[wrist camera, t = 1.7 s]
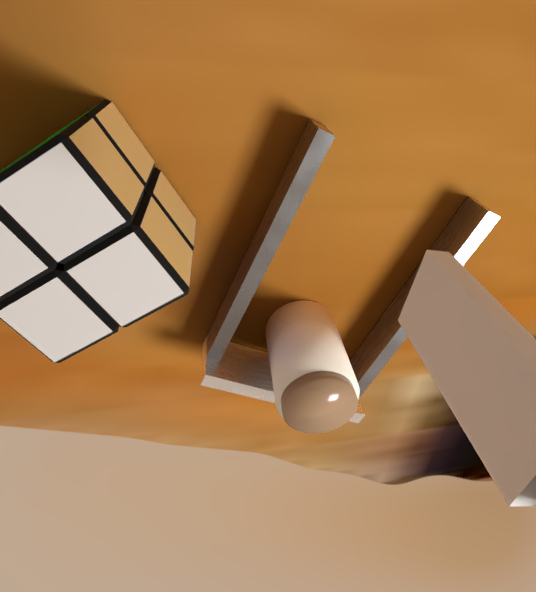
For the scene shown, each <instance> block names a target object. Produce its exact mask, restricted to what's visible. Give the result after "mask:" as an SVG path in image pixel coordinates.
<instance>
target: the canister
mask: <svg viewBox="0 0 536 592" xmlns="http://www.w3.org/2000/svg"><path fill="white" fill-rule="evenodd" d="M265 334H266V341H267V348H268V355H269V361H270V368H271V375H272V382H273V389H274V396H275V403H276V408H277V410H278V412H279V414H280V415H281V416H282V417H283V418H284V420H285V422H286V423H287V424H288V425H289V426H290V427H291V428H293V429H295V430H297V431H300V432H304V433H323V432H328V431H331V430H334V429H336V428H339V427H340V426H342V425H344V424H345V423H347V422H348V421H349V420H350V419H351V418H352V417H353V415H354V414H355V412H356V410H357V407H358V398H359V394H360V389H359V385H358V382H357V379H356V377H355V374H354V371H353V369H352V366H351V364H350V361H349V358H348V356H347V353H346V350H345V348H344V345H343V342H342V340H341V337H340V334H339V332H338V329H337V326H336V324H335V321H334V319H333V316H332V314H331V313H330V311H329V310H328V309H327V308H326V307H325V306H323V305H321V304H319V303H317V302H314V301H308V300H300V301H294V302H290V303H287V304H285V305H283V306H281V307H280V308H278V309H277V310H276V311H275V312H274V313H273V314H272V315H271V316H270V318H269V319H268V321H267V324H266V329H265Z"/></svg>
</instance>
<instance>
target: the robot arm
mask: <svg viewBox="0 0 536 592" xmlns="http://www.w3.org/2000/svg"><path fill="white" fill-rule="evenodd" d="M398 321H399V323H400V325H401V326H402V328H403V330H404V331H405V333H406V335H407V336H408V338H409V340H410V341H411V343H412V345H413V346H414V348H415V350H416V352H417V353H418V355H419V357H420V358H421V360H422V362H423V363H424V365H425V367H426V368H427V370H428V372H429V373H430V375H431V377H432V378H433V380H434V382H435V383H436V385H437V387H438V388H439V390H440V392H441V393H442V395H443V397H444V398H445V400H446V402H447V403H448V405H449V407H450V408H451V410H452V412H453V413H454V415H455V417H456V418H457V420H458V422H459V423H460V425H461V427H462V428H463V430H464V432H465V433H466V435H467V437H468V438H469V440H470V442H471V443H472V445H473V447H474V448H475V450H476V452H477V454H478V455H479V457H480V459H481V460H482V462H483V464H484V465H485V467H486V469H487V470H488V472H489V474H490V475H491V477H492V479H493V480H494V482H495V484H496V485H497V487H498V488H499V490H500V492H501V493H502V495H503V497H504V499H505V500H506V502H507V504H508V505H509V506H536V339H535V338H534V337H533V336H532V335H531V334H530V333H529V332H528V331H527V330H526V329H525V328H524V327H523V326H522V325H521V324H520V323H519V322H518V321H517V320H516V319H515V318H514V317H513V316H512V315H511V314H510V313H509V312H508V311H507V310H506V309H505V308H504V307H503V306H502V305H501V304H500V303H499V302H498V301H497V300H496V299H495V298H494V297H493V296H492V295H491V294H490V293H489V292H488V291H487V290H486V289H485V288H484V287H483V286H482V285H481V284H480V283H479V282H478V281H477V280H476V279H475V278H474V277H473V276H472V275H471V274H470V273H469V272H468V271H467V270H466V269H465V268H464V267H463V266H462V265H461V264H460V263H459V262H458V261H457V260H456V259H455V258H454V257H453V256H452V255H451V254H450V253H449V252H444V251H435V250H426V253H425V255H424V258H423V260H422V262H421V265H420V267H419V270H418V272H417V275H416V277H415V279H414V282H413V284H412V287H411V289H410V292H409V294H408V297H407V299H406V301H405V304H404V306H403V309H402V311H401V314H400V316H399V319H398Z"/></svg>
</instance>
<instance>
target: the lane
mask: <svg viewBox="0 0 536 592" xmlns="http://www.w3.org/2000/svg"><path fill="white" fill-rule="evenodd" d="M334 138H335V135H334V134H333V133H332V132H331V131H330V130H329V129H328V128H327V127H326V126H324V125H322V124H320V123H318V122H316V121H314V120H312V119H309V121H308V123H307V125H306V128H305V130H304V132H303V134H302V136H301V138H300V140H299V142H298V144H297V147H296V149H295V151H294V153H293V155H292V157H291V159H290V161H289V163H288V166H287V168H286V170H285V172H284V174H283V176H282V178H281V180H280V182H279V185H278V187H277V189H276V191H275V193H274V195H273V197H272V199H271V201H270V204H269V206H268V208H267V210H266V212H265V214H264V216H263V218H262V220H261V222H260V225H259V227H258V229H257V231H256V233H255V235H254V237H253V239H252V241H251V244H250V246H249V248H248V250H247V252H246V254H245V256H244V258H243V260H242V263H241V265H240V267H239V269H238V271H237V273H236V275H235V277H234V279H233V282H232V284H231V286H230V288H229V290H228V292H227V294H226V296H225V298H224V301H223V303H222V305H221V307H220V309H219V311H218V313H217V315H216V317H215V320H214V322H213V324H212V326H211V328H210V330H209V332H208V334H207V336H206V339H205V341H204V343H203V345H202V364H201V385H203V386H207V387H211V388H215V389H219V390H224V391H228V392H232V393H236V394H240V395H244V396H248V397H252V398H256V399H261V400H265V401H269V402H273V403H275V396H274V389H273V382H272V375H271V368H270V361H269V355H268V353H267V352H263V351H260V350H256V349H253V348H249V347H246V346H242V345H239V344H235V343H232V342H230V340H231V338H232V336H233V334H234V332H235V330H236V329H237V327H238V325H239V323H240V321H241V319H242V317H243V315H244V313H245V311H246V309H247V307H248V305H249V303H250V301H251V299H252V297H253V295H254V294H255V292H256V290H257V288H258V286H259V284H260V282H261V280H262V278H263V276H264V274H265V272H266V270H267V268H268V266H269V264H270V262H271V260H272V258H273V257H274V255H275V253H276V251H277V249H278V247H279V245H280V243H281V241H282V239H283V237H284V235H285V233H286V231H287V229H288V227H289V225H290V223H291V222H292V220H293V218H294V216H295V214H296V212H297V210H298V208H299V206H300V204H301V202H302V200H303V198H304V196H305V194H306V192H307V190H308V188H309V186H310V185H311V183H312V181H313V179H314V177H315V175H316V173H317V171H318V169H319V167H320V165H321V163H322V161H323V159H324V157H325V155H326V153H327V151H328V150H329V148H330V146H331V144H332V142H333V140H334ZM500 218H501V217H500V216H499V215H497V214H496V213H494V212H493V211H491V210H490V209H489V208H487V207H486V206H484V205H483V204H481V203H480V202H478V201H476V200H474V199H472V198H470V197H467V199H466V200H465V201H464V203H463V204H462V206H461V207H460V208H459V210H458V211H457V213H456V214H455V215H454V217H453V218H452V219H451V221H450V222H449V224H448V225H447V226H446V228H445V229H444V231H443V232H442V233H441V235H440V236H439V238H438V239H437V240H436V242H435V243H434V244H433V246H432V247H431V249H430V250H435V251H444V252H449V253H450V254H451V255H452V256H453V257H454V258H455V259H456V260H457V261H458V262H459V263H460V264H461V265H462V266H463V265H464V264H465V262H466V261H467V260H468V259H469V257H470V256H471V255H472V253H473V252H474V251H475V250H476V248H477V247H478V246H479V245H480V243H481V242H482V241H483V239H484V238H485V237H486V236H487V234H488V233H489V232H490V230H491V229H492V228H493V227H494V225H495V224H496V223H497V222H498V220H499V219H500ZM421 262H422V261H421ZM421 262H420V264H419V265H418V267H417V268H416V269H415V271H414V272H413V274H412V275H411V276H410V278H409V279H408V280H407V282H406V283H405V285H404V286H403V287H402V289H401V290H400V292H399V293H398V294H397V296H396V297H395V299H394V300H393V301H392V303H391V304H390V305H389V307H388V308H387V310H386V311H385V312H384V314H383V315H382V317H381V318H380V319H379V321H378V322H377V323H376V325H375V326H374V328H373V329H372V330H371V332H370V333H369V335H368V336H367V337H366V339H365V340H364V341H363V343H362V344H361V346H360V347H359V348H358V350H357V351H356V353H355V354H354V355H353V357H352V358H351V359H350V364H351V366H352V369H353V371H354V374H355V377H356V379H357V382H358V385H359V389H360V394H359V398H360V396H361V395H362V394H363V393H364V391H365V390H366V389H367V387H368V386H369V385H370V384H371V382H372V381H373V380H374V379H375V377H376V376H377V375H378V373H379V372H380V371H381V370H382V368H383V367H384V366H385V364H386V363H387V362H388V361H389V359H390V358H391V357H392V356H393V354H394V353H395V352H396V350H397V349H398V348H399V347H400V345H401V344H402V343H403V341H404V340H405V339H406V338H407V335H406V333H405V331H404V330H403V328H402V326H401V325H400V323H399V321H398V319H399V316H400V314H401V311H402V309H403V306H404V304H405V301H406V299H407V297H408V294H409V292H410V289H411V287H412V284H413V282H414V279H415V277H416V275H417V272H418V270H419V267H420V265H421ZM359 398H358V407H357V410H356V412H355V414H354V415H353V417H352V418H351V419H350V420H349V421H351V422H355V423H359V422H360V420H361V419H362V418H363V417H364V416H365V414H364V411H363V408H362V405H361V403H360V400H359Z"/></svg>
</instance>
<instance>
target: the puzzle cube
mask: <svg viewBox="0 0 536 592" xmlns="http://www.w3.org/2000/svg"><path fill="white" fill-rule="evenodd" d="M154 165H155V162H154V160H153V159H152V157H151V156H150V155H149V153H148V152H147V150H146V149H145V147H144V146H143V145H142V143H141V142H140V140H139V139H138V138H137V136H136V135H135V133H134V132H133V131H132V129H131V128H130V126H129V125H128V124H127V122H126V121H125V119H124V118H123V117H122V115H121V114H120V112H119V111H118V110H117V108H116V107H115V105H114V104H113V103H112V102H111V101H107V100H103V101H102V102H100V103H99V104H97V105H96V106H94V107H93V108H91V109H90V110H89V111H87V112H86V113H84V114H83V115H81V116H80V117H78V118H77V119H75V120H74V121H72V122H71V123H69V124H68V125H66V126H65V127H63V128H62V129H60V130H59V131H58V132H56V133H55V134H53V135H52V136H50V137H49V138H47V139H46V140H45V141H43V142H42V143H40V144H39V145H37V146H36V147H34V148H33V149H32V150H30V151H29V152H27V153H26V154H24V155H23V156H21V157H20V158H18V159H17V160H15V161H14V162H12V163H11V164H9V165H8V166H6V167H5V168H3V169H2V170H0V319H1V320H3V321H4V322H5V323H6V324H7V325H9V326H10V327H11V328H12V329H14V330H15V331H16V332H17V333H18V334H20V335H21V336H22V337H23V338H24V339H26V340H27V341H28V342H29V343H30V344H32V345H33V346H34V347H35V348H37V349H38V350H39V351H40V352H41V353H43V354H44V355H45V356H46V357H47V358H49V359H50V360H51V361H52V362H54V363H60V362H62V361H64V360H66V359H68V358H70V357H71V356H73V355H75V354H77V353H79V352H81V351H83V350H84V349H86V348H88V347H90V346H92V345H94V344H96V343H98V342H99V341H101V340H103V339H105V338H107V337H109V336H111V335H112V334H114V333H116V332H118V328H119V326H120V327H127V326H129V325H131V324H133V323H135V322H137V321H139V320H140V319H142V318H144V317H146V316H148V315H150V314H152V313H154V312H155V311H157V310H159V309H161V308H163V307H165V306H167V305H168V304H170V303H172V302H174V301H176V300H178V299H180V298H182V297H183V296H185V295H187V294H188V292H189V287H190V278H191V268H192V258H193V249H194V241H195V230H196V219H195V218H194V216H193V215H192V214H191V212H190V211H189V209H188V208H187V207H186V205H185V204H184V202H183V201H182V200H181V198H180V197H179V195H178V194H177V193H176V191H175V190H174V188H173V187H172V186H171V184H170V183H169V181H168V180H167V178H166V177H165V176H164V174H163V173H162V171H161V170H157V169H154Z"/></svg>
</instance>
